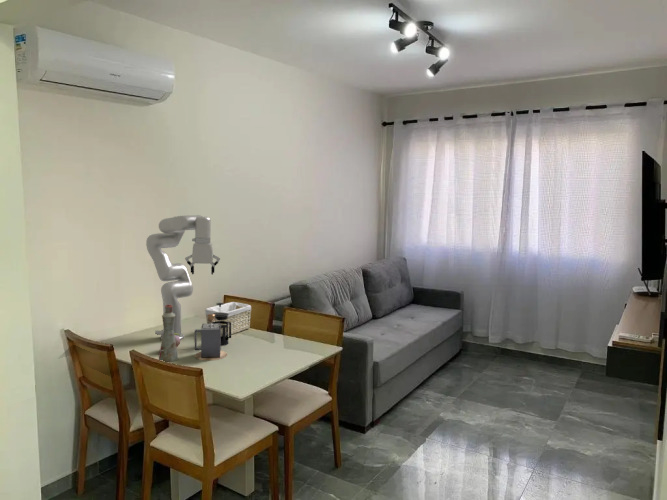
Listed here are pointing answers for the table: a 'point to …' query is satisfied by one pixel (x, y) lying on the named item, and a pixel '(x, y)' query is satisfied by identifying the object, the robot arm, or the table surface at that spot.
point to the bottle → (168, 337)
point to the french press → (225, 327)
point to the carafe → (209, 340)
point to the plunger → (211, 318)
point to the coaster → (222, 355)
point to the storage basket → (233, 315)
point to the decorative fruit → (177, 339)
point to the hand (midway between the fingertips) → (202, 274)
